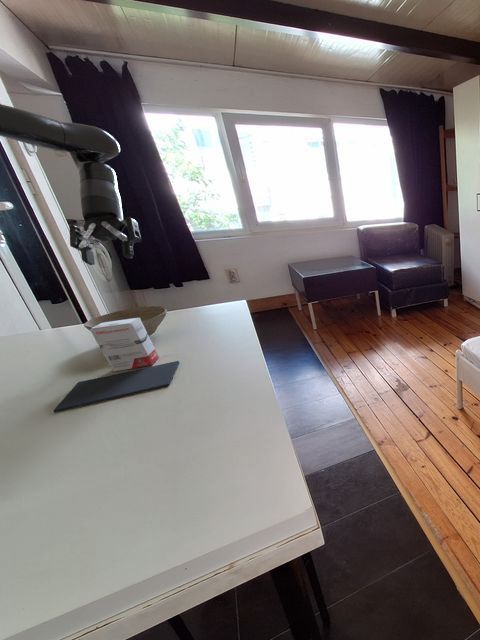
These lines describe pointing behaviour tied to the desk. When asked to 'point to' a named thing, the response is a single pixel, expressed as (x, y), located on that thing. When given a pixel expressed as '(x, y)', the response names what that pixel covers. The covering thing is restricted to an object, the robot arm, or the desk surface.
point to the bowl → (147, 314)
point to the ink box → (125, 344)
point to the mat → (118, 385)
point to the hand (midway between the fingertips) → (109, 260)
